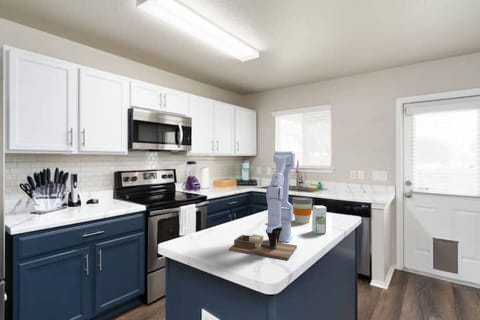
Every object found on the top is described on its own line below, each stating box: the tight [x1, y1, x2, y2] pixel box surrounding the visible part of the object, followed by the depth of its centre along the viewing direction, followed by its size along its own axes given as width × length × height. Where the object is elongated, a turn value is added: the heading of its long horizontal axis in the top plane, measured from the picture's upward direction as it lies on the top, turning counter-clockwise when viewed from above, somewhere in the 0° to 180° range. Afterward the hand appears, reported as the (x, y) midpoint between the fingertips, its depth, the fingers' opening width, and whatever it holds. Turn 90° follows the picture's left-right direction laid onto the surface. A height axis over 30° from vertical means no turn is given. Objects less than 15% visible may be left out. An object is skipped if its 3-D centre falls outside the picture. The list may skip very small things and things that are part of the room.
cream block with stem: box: [249, 233, 277, 249], centre depth 115 cm, size 5×12×5 cm, turn 65°
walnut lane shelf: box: [229, 234, 298, 261], centre depth 115 cm, size 16×26×4 cm, turn 66°
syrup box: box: [311, 205, 327, 235], centre depth 141 cm, size 6×6×14 cm
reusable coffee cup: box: [291, 196, 313, 224], centre depth 165 cm, size 13×13×15 cm
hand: (274, 245), depth 113 cm, fingers closed on cream block with stem, 3 cm apart
